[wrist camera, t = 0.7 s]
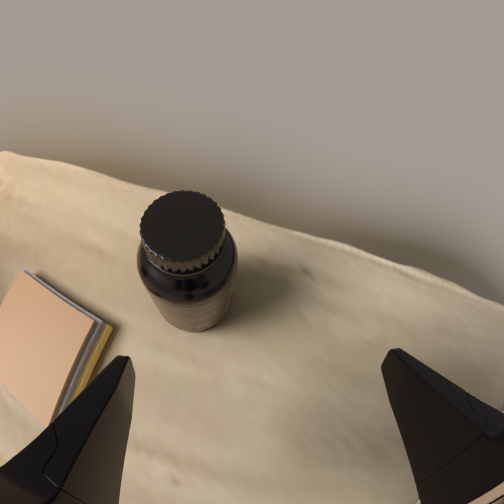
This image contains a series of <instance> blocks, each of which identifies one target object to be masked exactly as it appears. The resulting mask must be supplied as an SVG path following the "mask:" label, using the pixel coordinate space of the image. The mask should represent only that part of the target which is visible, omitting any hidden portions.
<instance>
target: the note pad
mask: <svg viewBox="0 0 504 504" xmlns="http://www.w3.org/2000/svg"><path fill="white" fill-rule="evenodd" d="M112 330H113V328H112V327H111V326H110V325H109V324H107V323H105V322H103V321H102V320H100V319H98V318H97V317H95V316H94V315H92V314H90V313H89V312H87V311H85V310H84V309H82V308H81V307H79V306H78V305H76V304H75V303H73V302H72V301H70V300H68V299H67V298H66V297H64V296H63V295H61V294H60V293H58V292H57V291H55V290H54V289H53V288H51V287H50V286H48V285H47V284H46V283H44V282H43V281H41V280H40V279H39V278H37V277H36V276H35V275H33V274H32V273H31V272H30V271H28V270H27V269H26V268H24V267H23V268H22V269H20V270H19V272H18V274H17V275H16V277H15V279H14V281H13V282H12V284H11V286H10V288H9V290H8V292H7V294H6V296H5V298H4V299H3V301H2V303H1V306H0V384H1V386H2V387H3V388H4V389H5V390H6V391H7V392H8V393H9V394H10V395H11V396H12V397H13V398H14V399H15V400H16V401H17V402H18V403H19V404H20V405H21V406H22V407H23V408H24V409H25V410H26V411H27V412H28V413H29V414H31V415H32V416H33V417H34V418H35V419H36V420H37V421H38V422H40V423H41V424H42V425H43V426H44V427H46V428H47V427H48V426H49V425H50V423H51V422H53V421H54V419H55V418H56V417H57V416H58V415H59V414H60V413H61V412H62V411H63V410H64V409H65V408H66V407H67V406H68V405H69V404H70V403H71V402H72V401H73V400H74V399H75V398H76V397H77V396H78V395H79V394H80V393H81V392H82V391H83V389H84V388H85V387H86V385H87V383H88V381H89V378H90V376H91V374H92V372H93V369H94V367H95V365H96V363H97V361H98V359H99V356H100V354H101V352H102V350H103V348H104V346H105V344H106V342H107V340H108V338H109V336H110V334H111V332H112Z"/></svg>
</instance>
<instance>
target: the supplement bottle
mask: <svg viewBox="0 0 504 504" xmlns="http://www.w3.org/2000/svg"><path fill="white" fill-rule="evenodd" d="M140 236H141V242H140V244H139V247H138V251H137V268H138V272H139V275H140V278H141V280H142V282H143V284H144V286H145V288H146V289H147V291H148V293H149V294H150V296H151V298H152V299H153V301H154V303H155V304H156V306H157V308H158V309H159V311H160V313H161V314H162V315H163V317H164V318H165V319H166V320H167V321H168V322H169V323H170V324H171V325H173V326H175V327H176V328H179V329H181V330H185V331H191V332H196V331H203V330H206V329H209V328H211V327H213V326H214V325H216V324H217V323H218V322H219V321H220V320H221V319H222V318H223V317H224V315H225V314H226V312H227V310H228V308H229V304H230V300H231V296H232V290H233V285H234V280H235V275H236V269H237V262H238V253H237V247H236V244H235V241H234V239H233V237H232V235H231V234H230V232H229V231H228V230H227V228H226V227H225V220H224V215H223V213H222V212H221V208H220V207H218V206H217V203H216V202H214V201H213V200H212V199H211V198H209V197H207V196H206V195H205V194H200V193H199V192H193V191H184V190H182V191H174V192H172V193H167V194H166V195H164V196H160V197H159V198H158V199H157V200H154V202H153V203H152V204H151V205H149V206H148V209H147V210H146V211H145V212H144V215H143V216H142V218H141V223H140Z"/></svg>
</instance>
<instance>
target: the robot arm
mask: <svg viewBox="0 0 504 504" xmlns="http://www.w3.org/2000/svg"><path fill="white" fill-rule="evenodd" d="M381 370H382V374H383V378H384V382H385V386H386V389H387V393H388V397H389V401H390V404H391V407H392V410H393V413H394V416H395V419H396V422H397V424H398V427H399V430H400V433H401V436H402V439H403V443H404V446H405V449H406V452H407V455H408V459H409V462H410V465H411V469H412V472H413V476H414V479H415V483H416V487H417V491H418V495H419V499H420V503H421V504H504V413H502V412H500V411H498V410H497V409H495V408H493V407H491V406H489V405H487V404H485V403H484V402H482V401H480V400H479V399H477V398H475V397H474V396H472V395H471V394H469V393H468V392H466V391H465V390H463V389H461V388H460V387H458V386H457V385H455V384H454V383H452V382H451V381H449V380H448V379H446V378H445V377H443V376H442V375H440V374H439V373H437V372H435V371H434V370H432V369H431V368H429V367H428V366H426V365H425V364H423V363H422V362H420V361H419V360H417V359H416V358H414V357H413V356H411V355H409V354H408V353H406V352H405V351H403V350H402V349H400V348H396V349H391V350H389V352H388V353H387V355H386V357H385V359H384V361H383V363H382V365H381ZM134 387H135V371H134V368H133V365H132V361H131V358H130V357H129V356H122V355H118V356H116V357H115V358H114V359H113V360H112V361H111V362H110V363H109V364H108V365H107V366H106V367H105V368H104V369H103V370H102V371H101V372H100V373H99V374H98V375H97V376H96V377H95V378H94V379H93V380H92V381H91V382H90V383H89V384H88V385H87V386H86V387H85V388H84V389H83V391H82V392H81V393H80V394H79V395H78V396H77V397H76V398H75V399H74V400H73V401H72V402H71V403H70V404H69V405H68V406H67V407H66V408H65V409H64V410H63V411H62V412H61V413H60V414H59V415H58V416H57V417H56V418H55V419H54V421H53V422H51V423H50V425H49V426H48V427H47V428H46V429H45V430H44V431H43V432H42V433H41V434H40V435H39V436H38V437H37V438H36V439H34V440H33V441H32V442H31V443H30V444H29V445H28V446H26V447H25V448H24V449H23V450H22V451H20V452H19V453H18V454H17V455H15V456H14V457H13V458H12V459H11V460H9V461H8V462H7V463H6V464H4V465H3V466H1V467H0V504H119V495H120V487H121V479H122V472H123V465H124V459H125V453H126V447H127V441H128V436H129V430H130V425H131V419H132V409H133V397H134Z"/></svg>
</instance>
